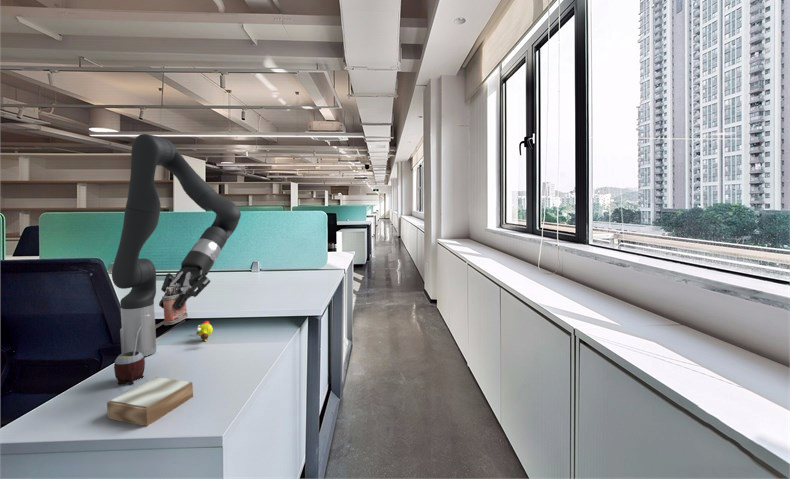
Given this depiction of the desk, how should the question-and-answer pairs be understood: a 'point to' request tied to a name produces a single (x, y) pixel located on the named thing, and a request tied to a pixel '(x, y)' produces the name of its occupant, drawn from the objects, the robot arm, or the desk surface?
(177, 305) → the robot arm
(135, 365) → the mate gourd
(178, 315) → the lighter
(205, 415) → the desk surface
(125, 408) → the wooden flat block
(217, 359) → the desk surface
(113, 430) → the desk surface
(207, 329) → the toy figure
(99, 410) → the desk surface
